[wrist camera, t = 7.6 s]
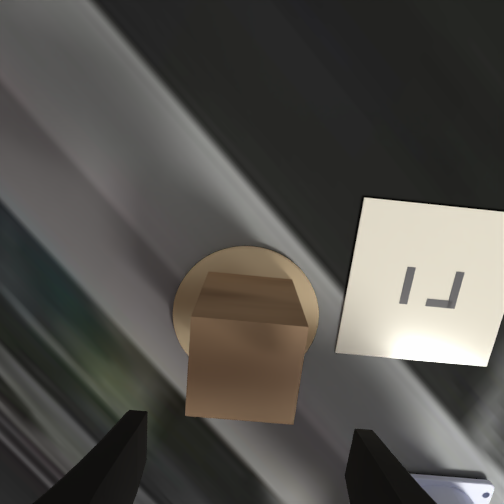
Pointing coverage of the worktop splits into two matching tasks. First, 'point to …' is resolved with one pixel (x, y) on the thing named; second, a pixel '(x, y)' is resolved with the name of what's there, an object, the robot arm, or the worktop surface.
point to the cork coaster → (243, 263)
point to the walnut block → (246, 349)
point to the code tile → (424, 283)
